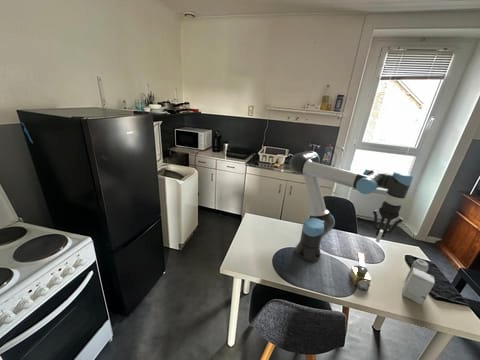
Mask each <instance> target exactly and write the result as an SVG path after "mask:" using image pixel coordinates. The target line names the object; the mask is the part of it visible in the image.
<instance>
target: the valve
mask: <svg viewBox="0 0 480 360" xmlns="http://www.w3.org/2000/svg"><path fill="white" fill-rule="evenodd" d="M358 267H359V265H353V266H352V267H351V269H350V272H349V273H350V274H349V276H350V279H351V280H352V283H353V285H354V286H357V287H358V288H360V289H359V290H361V291H362V292H367V291H369V289H370V287H371V281H372V278H371V276H370V274H369V273H368V271H367V274H366V275H362V274H360V273H359V272H358V271H357V269H358Z"/></svg>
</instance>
